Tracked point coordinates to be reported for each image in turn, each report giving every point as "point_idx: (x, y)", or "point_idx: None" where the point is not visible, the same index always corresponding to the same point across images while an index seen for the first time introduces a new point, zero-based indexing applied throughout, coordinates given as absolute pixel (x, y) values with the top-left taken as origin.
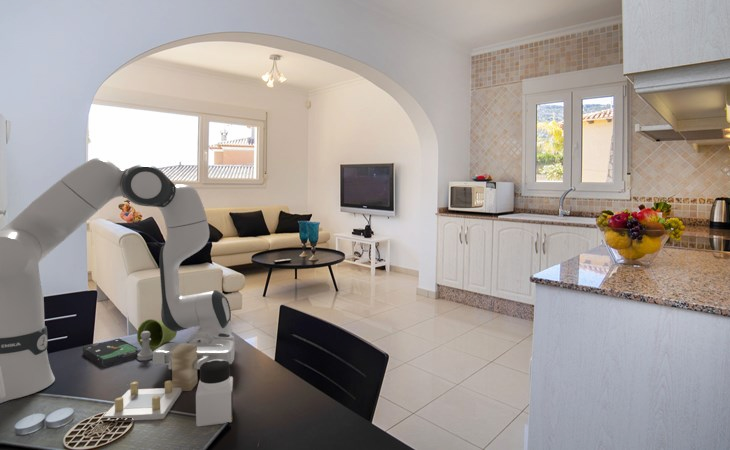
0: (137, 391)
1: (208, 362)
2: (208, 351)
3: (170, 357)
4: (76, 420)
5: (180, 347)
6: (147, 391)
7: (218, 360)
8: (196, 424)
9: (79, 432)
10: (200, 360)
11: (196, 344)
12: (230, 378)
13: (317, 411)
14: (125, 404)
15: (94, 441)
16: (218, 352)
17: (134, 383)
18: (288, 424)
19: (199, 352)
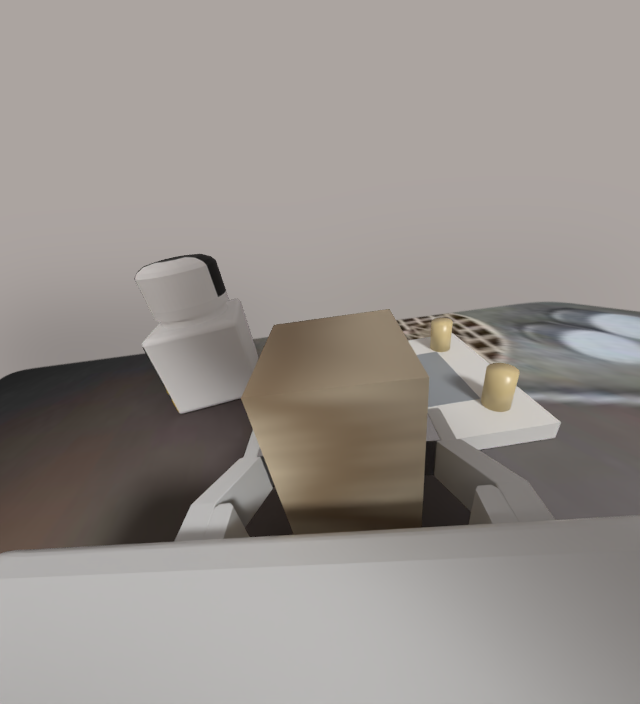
0: (482, 395)
1: (189, 256)
2: (158, 563)
3: (508, 469)
4: (519, 339)
5: (364, 340)
6: (461, 418)
7: (160, 262)
8: (257, 354)
9: (459, 325)
10: (246, 453)
11: (244, 396)
12: (151, 334)
13: (12, 419)
14: (452, 362)
15: (407, 320)
16: (69, 551)
17: (499, 369)
18: (101, 382)
19: (256, 539)
